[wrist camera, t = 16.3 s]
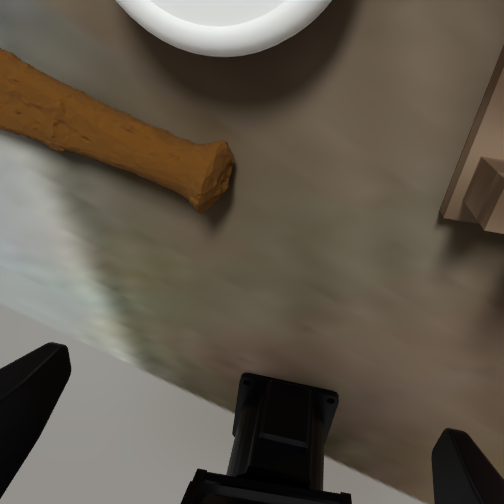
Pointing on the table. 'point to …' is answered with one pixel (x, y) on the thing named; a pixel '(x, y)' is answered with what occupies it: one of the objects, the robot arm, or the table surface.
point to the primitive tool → (109, 134)
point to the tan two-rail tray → (482, 164)
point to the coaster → (224, 23)
